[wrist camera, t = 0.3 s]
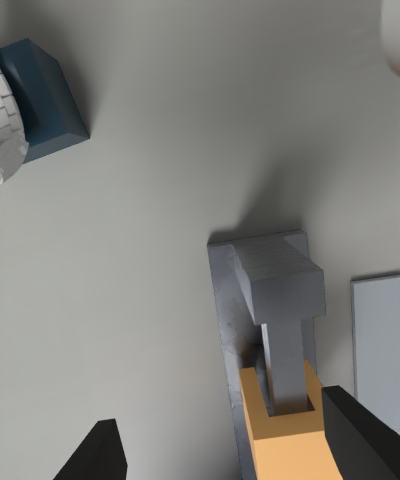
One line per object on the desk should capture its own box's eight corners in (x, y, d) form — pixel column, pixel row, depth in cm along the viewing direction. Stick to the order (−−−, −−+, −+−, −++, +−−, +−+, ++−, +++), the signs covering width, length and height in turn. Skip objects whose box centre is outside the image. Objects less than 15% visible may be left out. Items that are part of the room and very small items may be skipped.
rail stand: (319, 477, 24) (370, 603, 17) (243, 487, 24) (263, 617, 17) (300, 229, 19) (360, 265, 12) (206, 244, 19) (213, 286, 12)
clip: (311, 411, 20) (349, 493, 15) (245, 420, 20) (262, 505, 15) (307, 359, 19) (346, 427, 14) (238, 369, 19) (253, 440, 14)
